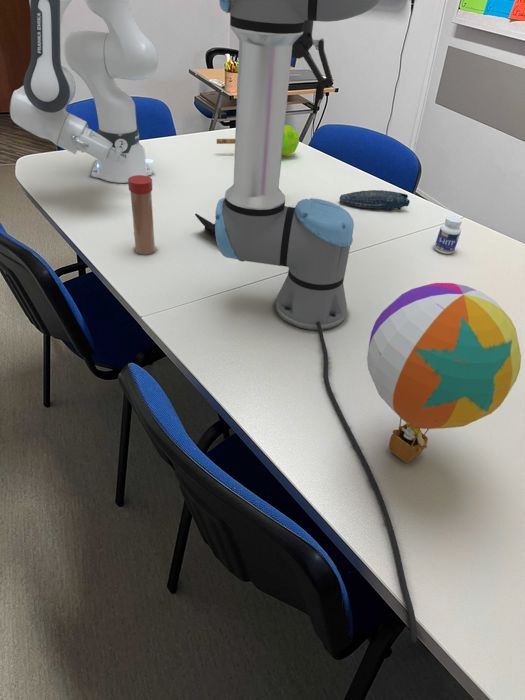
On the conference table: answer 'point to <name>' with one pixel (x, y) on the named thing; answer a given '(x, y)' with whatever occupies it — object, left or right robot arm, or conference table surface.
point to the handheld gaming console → (207, 225)
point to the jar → (143, 223)
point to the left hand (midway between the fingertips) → (125, 160)
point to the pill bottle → (448, 235)
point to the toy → (441, 360)
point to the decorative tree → (288, 141)
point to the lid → (140, 184)
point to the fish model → (376, 199)
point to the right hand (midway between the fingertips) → (288, 109)
